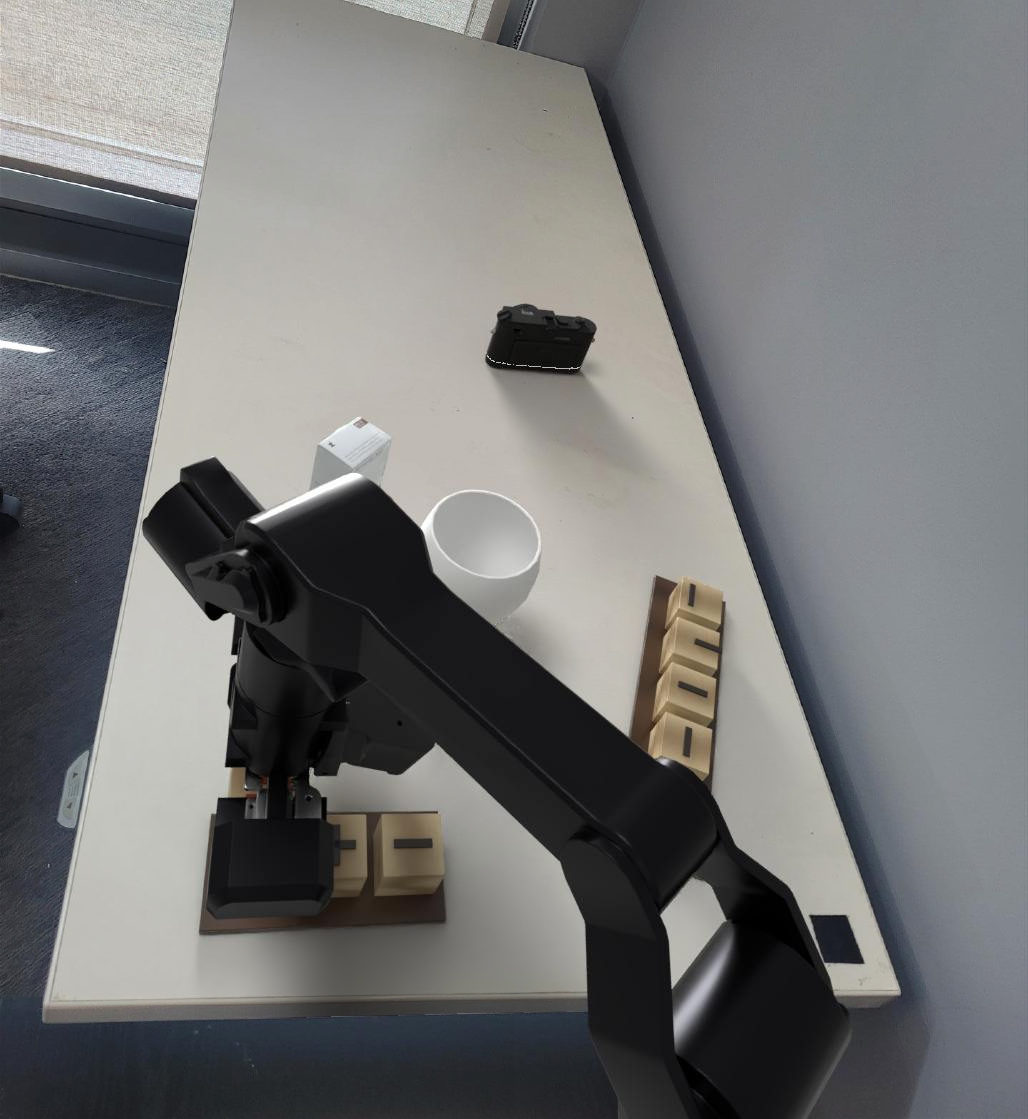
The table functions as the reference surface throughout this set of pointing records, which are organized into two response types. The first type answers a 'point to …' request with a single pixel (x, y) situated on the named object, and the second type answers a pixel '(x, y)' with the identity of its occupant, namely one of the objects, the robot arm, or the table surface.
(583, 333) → the camera
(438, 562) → the cup
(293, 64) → the table surface
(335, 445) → the cosmetic box
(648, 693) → the letter block display
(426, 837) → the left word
